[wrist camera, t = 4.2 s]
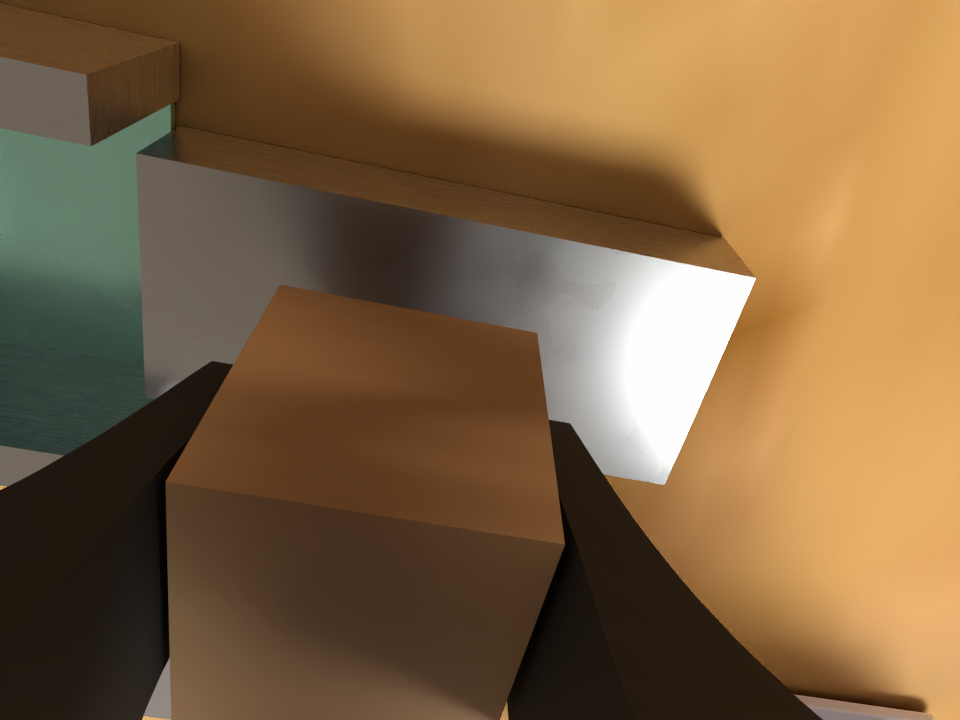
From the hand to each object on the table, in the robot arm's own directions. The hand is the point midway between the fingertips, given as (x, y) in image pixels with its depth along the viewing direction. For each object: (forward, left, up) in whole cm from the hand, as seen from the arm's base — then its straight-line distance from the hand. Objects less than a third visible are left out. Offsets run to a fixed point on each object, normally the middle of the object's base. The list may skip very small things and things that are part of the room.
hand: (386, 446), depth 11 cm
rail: (+3, 0, -6) cm, 6 cm away
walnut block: (0, 0, -1) cm, 1 cm away
